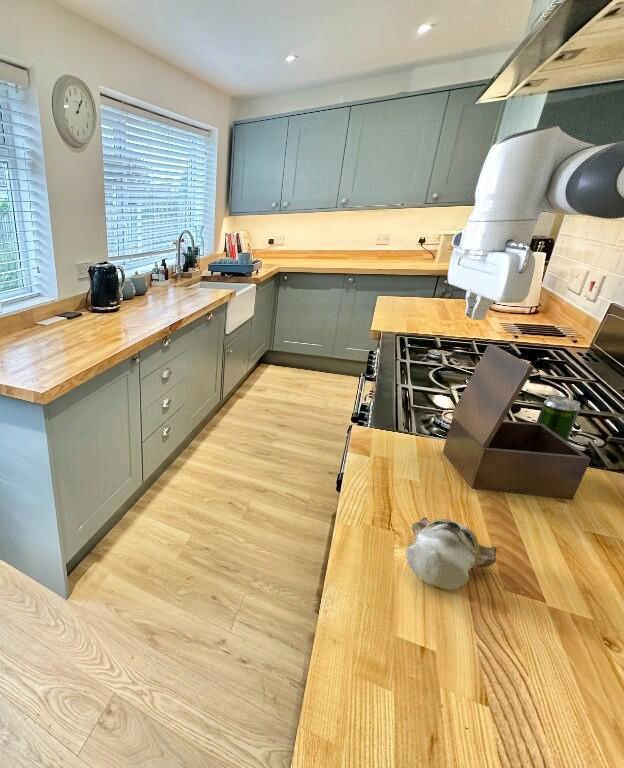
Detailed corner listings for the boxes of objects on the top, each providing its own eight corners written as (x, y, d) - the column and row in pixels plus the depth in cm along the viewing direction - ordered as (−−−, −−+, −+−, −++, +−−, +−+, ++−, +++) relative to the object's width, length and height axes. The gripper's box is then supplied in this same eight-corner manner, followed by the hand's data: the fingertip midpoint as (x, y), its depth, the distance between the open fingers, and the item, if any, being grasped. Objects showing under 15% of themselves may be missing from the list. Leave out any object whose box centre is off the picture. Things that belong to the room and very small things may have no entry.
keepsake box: (528, 460, 88) (542, 423, 85) (573, 499, 76) (591, 458, 73) (442, 452, 93) (452, 417, 90) (471, 488, 81) (484, 449, 78)
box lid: (493, 344, 82) (488, 343, 83) (535, 367, 70) (529, 366, 71) (455, 415, 89) (451, 414, 90) (487, 447, 77) (482, 446, 78)
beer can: (566, 458, 88) (588, 407, 84) (533, 454, 90) (552, 404, 86) (554, 446, 93) (573, 397, 88) (522, 442, 95) (540, 394, 90)
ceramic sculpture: (395, 524, 61) (429, 487, 69) (382, 570, 64) (416, 529, 72) (489, 567, 53) (514, 519, 62) (469, 617, 56) (495, 565, 65)
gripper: (560, 242, 61) (529, 333, 66) (488, 234, 79) (468, 306, 84) (507, 243, 63) (481, 332, 68) (449, 235, 81) (432, 306, 86)
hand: (473, 317), depth 76 cm, fingers closed
